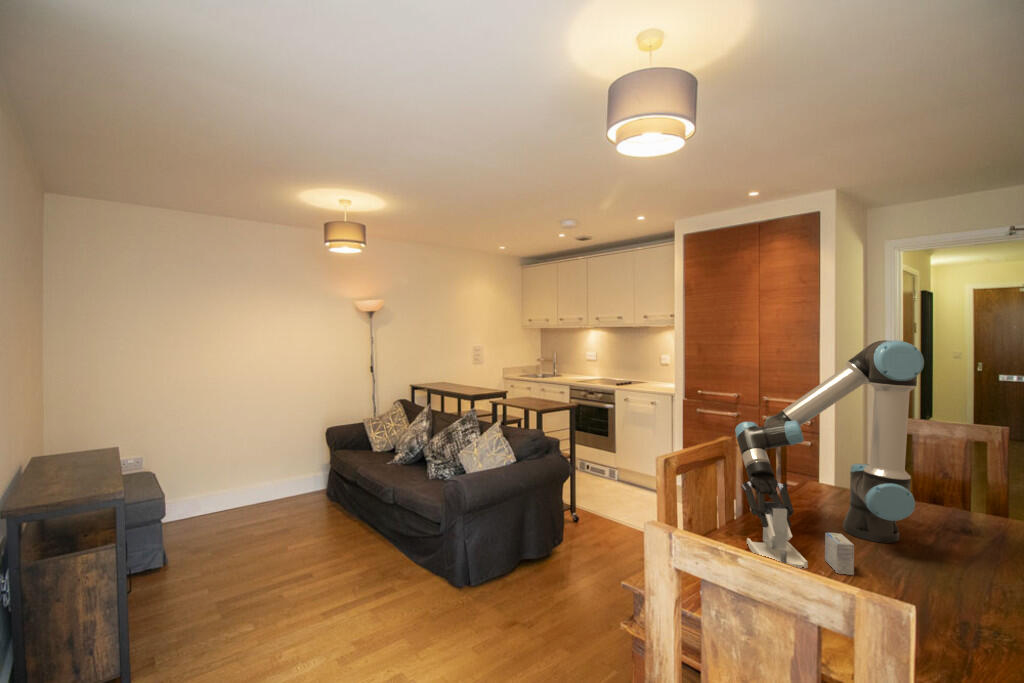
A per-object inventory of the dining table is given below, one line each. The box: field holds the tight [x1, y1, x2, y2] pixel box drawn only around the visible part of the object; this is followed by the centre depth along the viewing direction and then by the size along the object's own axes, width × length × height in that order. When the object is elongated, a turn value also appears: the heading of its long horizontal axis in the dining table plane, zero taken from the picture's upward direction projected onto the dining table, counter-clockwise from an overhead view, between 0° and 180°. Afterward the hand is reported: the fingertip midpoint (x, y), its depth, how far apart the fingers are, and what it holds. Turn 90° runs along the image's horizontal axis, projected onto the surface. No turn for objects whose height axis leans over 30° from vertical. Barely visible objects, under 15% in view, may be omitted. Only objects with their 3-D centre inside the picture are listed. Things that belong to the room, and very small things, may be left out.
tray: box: [746, 537, 809, 570], centre depth 146 cm, size 12×14×4 cm
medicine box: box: [824, 532, 855, 576], centre depth 139 cm, size 8×4×9 cm, turn 168°
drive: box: [762, 501, 787, 550], centre depth 147 cm, size 4×6×12 cm
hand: (780, 537), depth 143 cm, fingers closed on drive, 4 cm apart
